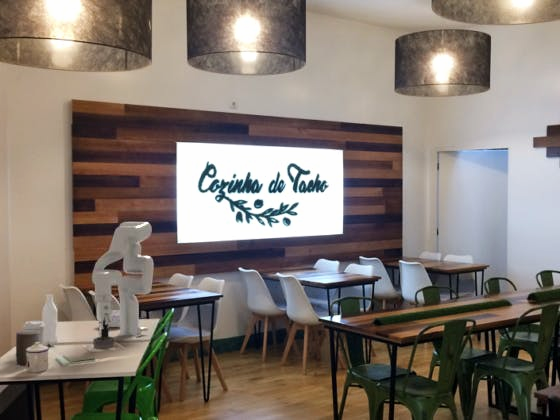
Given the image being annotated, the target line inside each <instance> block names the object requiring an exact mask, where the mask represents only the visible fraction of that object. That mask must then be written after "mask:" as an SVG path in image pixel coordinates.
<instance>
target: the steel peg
mask: <svg viewBox="0 0 560 420" xmlns="http://www.w3.org/2000/svg"><path fill="white" fill-rule="evenodd" d="M104 322H105V321H104ZM101 329H102V323H101V322H100V321H98V337H99V340H107V339H108V337H109V336H108V337H103V338H102V337H101Z"/></svg>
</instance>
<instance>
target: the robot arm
mask: <svg viewBox="0 0 560 420" xmlns="http://www.w3.org/2000/svg"><path fill="white" fill-rule="evenodd" d="M152 228H153V227H152V225H151V224H150V222H148V221H123V222H121V223H120V224H119V226H118V227H116V228H115V231H114V233H113V236H112V240H111V243H110V245H109V248H108V249H109V250H108V251H107V252H105V253H104V254H103V255H101V256H100V257H99V258H98V259H97V261H96V262H95V264H94V268H93V270H92V274H91V281H92V283H93V284H94V302H95V303H96V320H97V321H98V322H99V321H100V322H101V323H102V329H101V337H102V338H103V337H109V327H108V324H109V323H108V321H109V322H111V321H112V317H111V310H112V306H111V305H112V304H111V302H112V286H117V289H118V294H119V310H120V327H119V332H118V333H117V334H116V337H122V336H124V337H125V336H133V337H135V338H139V336H140V337H142V336H143V335H142V334H143V333H142V332H147V331H149V328H148V327H146V326H145V327H141V326H140V325H139V321H140V320H139V318H140V317H139V316H140V315H139V300H138V298H137V297H136V295H148V294H150V292H151V291H152V286H153V276H154V270H155V269H154V267H155V266H154V265H155V264H154V259H153V258H152V256H149V255H142V245H141V244H140V243H142V242H144V241H146V240H147V239H149V237H151V234H152V231H153V229H152ZM121 259H123V263H122V270H123V272H125V273H126V274H131V275H124V276H123V274H122V272H121V271H120V270H118V269H105V268H106V267H107V266H108V265H110V264H112V263H115V262H117V261H119V260H121ZM132 274H133V275H132ZM135 274H138V275H135ZM139 274H140V275H141V276H140V275H139ZM104 321H105V322H104Z"/></svg>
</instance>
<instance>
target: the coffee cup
mask: <svg viewBox="0 0 560 420" xmlns="http://www.w3.org/2000/svg"><path fill="white" fill-rule="evenodd" d="M44 327H45V324H44V323H43V321H42V320H30V321H26V322H24V325H23V327H22V328H23V330H27V329H28V330H38V331H40V332H39V343H40V344H41V345H43V346H44V344H43V334H44Z"/></svg>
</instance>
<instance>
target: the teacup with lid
mask: <svg viewBox="0 0 560 420" xmlns="http://www.w3.org/2000/svg"><path fill="white" fill-rule="evenodd" d="M49 350H50V349H49V346H45V345H44V344H43V345H41V344H40V343H39V342H35V345H33V346H31V347H29V348H27V349H26V361H27V365H26V372H28V373H41V372H45V371H47V370H48V369H49Z"/></svg>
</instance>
